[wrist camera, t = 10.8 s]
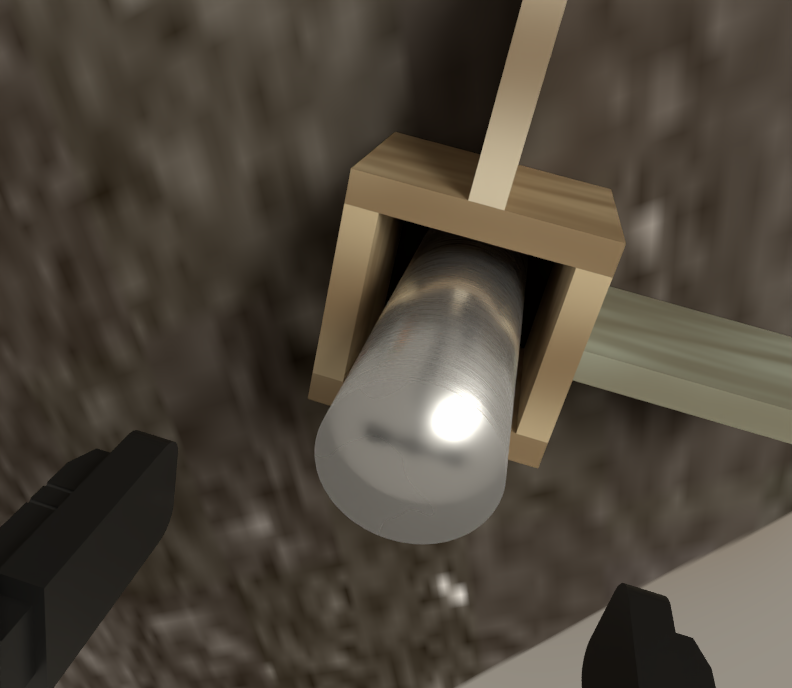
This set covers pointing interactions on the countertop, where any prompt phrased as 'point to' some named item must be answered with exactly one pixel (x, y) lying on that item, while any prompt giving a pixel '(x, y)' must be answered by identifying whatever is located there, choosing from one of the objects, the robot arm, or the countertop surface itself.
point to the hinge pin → (430, 397)
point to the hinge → (568, 281)
